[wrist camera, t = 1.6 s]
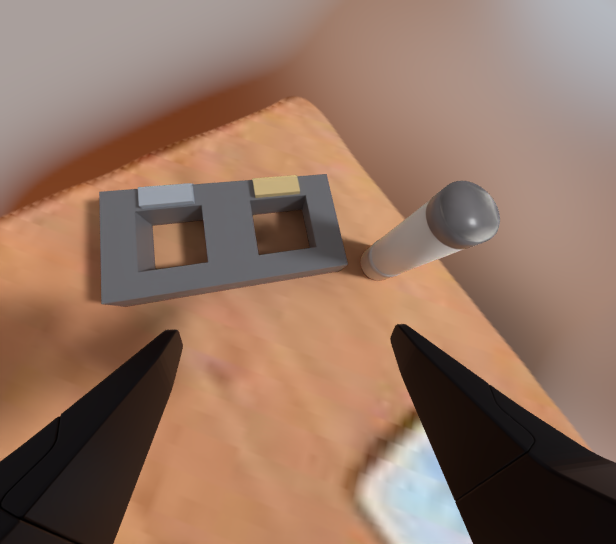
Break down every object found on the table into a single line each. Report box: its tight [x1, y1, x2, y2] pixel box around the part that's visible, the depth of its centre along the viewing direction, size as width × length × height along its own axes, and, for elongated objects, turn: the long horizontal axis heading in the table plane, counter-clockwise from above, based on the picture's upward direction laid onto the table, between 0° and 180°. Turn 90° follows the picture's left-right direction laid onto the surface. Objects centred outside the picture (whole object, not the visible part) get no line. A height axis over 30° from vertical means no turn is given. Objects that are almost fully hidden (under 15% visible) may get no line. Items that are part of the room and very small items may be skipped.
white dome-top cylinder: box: [361, 181, 500, 281], centre depth 20 cm, size 4×4×12 cm
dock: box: [99, 174, 348, 307], centre depth 22 cm, size 21×10×4 cm, turn 101°
